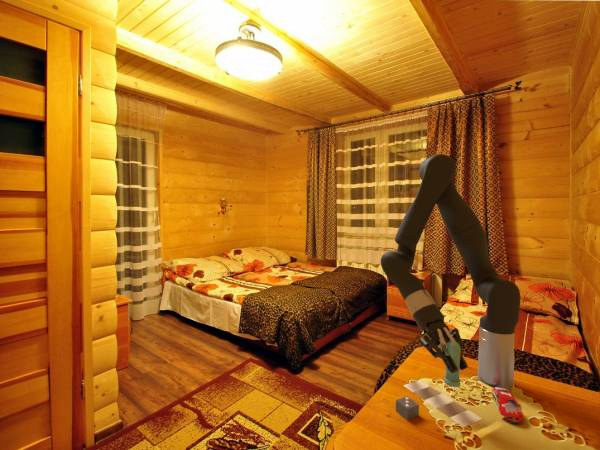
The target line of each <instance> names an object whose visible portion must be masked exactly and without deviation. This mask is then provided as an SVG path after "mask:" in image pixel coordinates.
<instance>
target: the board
mask: <svg viewBox="0 0 600 450" xmlns="http://www.w3.org/2000/svg"><path fill="white" fill-rule="evenodd" d="M403 387H405V389H407V390H409V391H410V392H412V393H413V394H414V395H416V396H417V397H419V398H421V400H423V401H425V402H427V403H428V404H429V405H431V406H432V407H434V408H435V409H436V410H438V411H439V412H441V413H442V414H444V415H445V416H447V417H448V418H450V419H451V420H452V421H454V422H455V423H457V425H460V426H461V427H463V428H465V427H467V426H470V425H472V424H474V423H477V422H478V421H480V420H483V418H482V417H481V416H479V415H477V414H475V413H474V412H472V411H470V410H469V409H467V408H466V407H464V406H462V405H461V404H459V403H458V402H456V401H454V400H453V399H451V398H449V397H448V396H446V395H445V394H443V393H442V392H440V391H438V390H437V389H435V388H434V387H431V386H430V385H429V384H427V383H426V382H424V381H423V380H421V379H419V380H416V381H412V382H410V383H406V384H403Z"/></svg>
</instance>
